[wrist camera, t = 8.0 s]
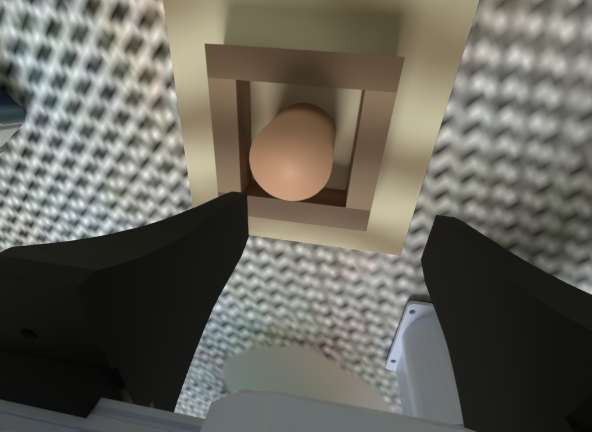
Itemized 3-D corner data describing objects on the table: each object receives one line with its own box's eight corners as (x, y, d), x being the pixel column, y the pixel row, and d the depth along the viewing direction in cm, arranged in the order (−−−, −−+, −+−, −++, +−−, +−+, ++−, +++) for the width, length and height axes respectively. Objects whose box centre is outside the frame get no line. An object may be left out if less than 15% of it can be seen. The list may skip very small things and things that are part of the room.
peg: (331, 170, 19) (327, 205, 14) (272, 163, 19) (250, 196, 15) (339, 105, 17) (337, 124, 12) (272, 100, 17) (247, 116, 13)
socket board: (398, 247, 22) (406, 278, 19) (201, 221, 24) (180, 245, 21) (476, -16, 14) (513, -35, 11) (168, -29, 15) (126, -48, 12)
